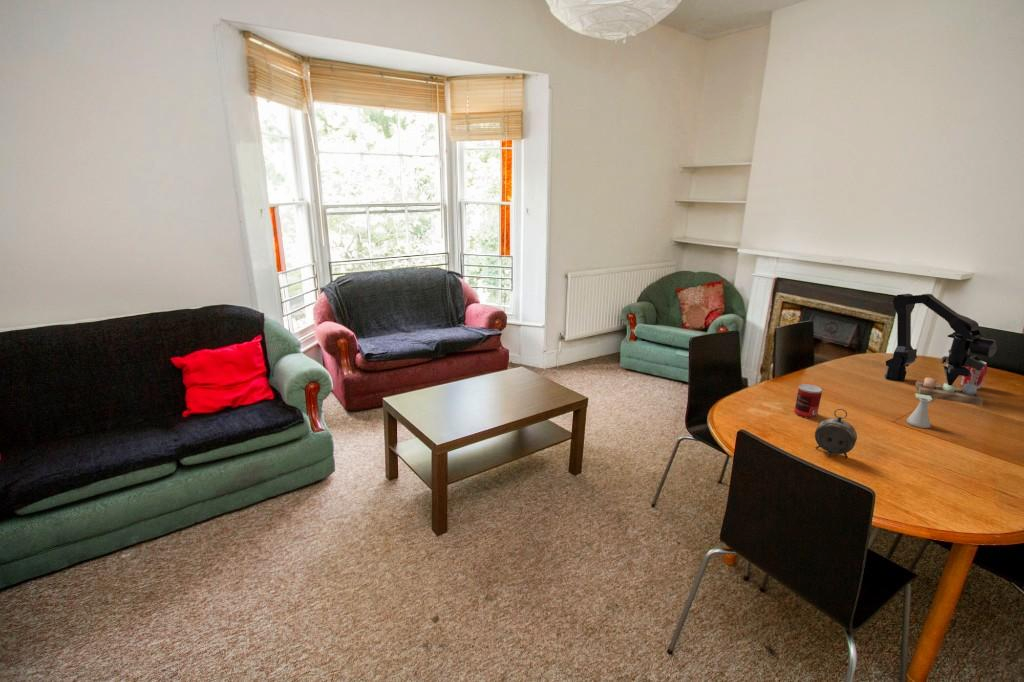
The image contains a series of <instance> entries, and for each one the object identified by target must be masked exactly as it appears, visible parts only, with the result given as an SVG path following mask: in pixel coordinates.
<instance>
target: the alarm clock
mask: <svg viewBox="0 0 1024 682" xmlns="http://www.w3.org/2000/svg"><path fill="white" fill-rule="evenodd" d="M837 411H843V412H845V416H844V417H841V416H837V415H836V413H837ZM834 416H835V418H833V417H832V418H826V419H824V420H822V421H820V422H819V423H818V425H817V427H816V430H815V432H814V439H815V441H816V443H817V446H816V447H815V449H816V450H817V449H818V448H821V449H822V450H823V451H825V452H827V453H828V457H829V458H831V457H832V455H844V456H845V458H846V459H848V458H849V456H848V454H847V453H849V452H851V451H852V450H853V449H854V447H855V445H856V444H857V443H856V442H857V440H858V436H857V431H856V429H855V428H854V426H853V425H851V424H850V423H849V422H848V421H846V420H844V419H846V418H847V416H848V412H847V411H846V410H845V409H844V408H837V409H835V411H834Z"/></svg>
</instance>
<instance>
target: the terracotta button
mask: <svg viewBox="0 0 1024 682" xmlns="http://www.w3.org/2000/svg"><path fill="white" fill-rule="evenodd" d="M937 381H938V380H937V379H936V378H932V377H924V380H923V382H924V383H923V387H924V388H930V389H935V386H936V384H937Z"/></svg>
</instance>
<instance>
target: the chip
mask: <svg viewBox="0 0 1024 682" xmlns="http://www.w3.org/2000/svg"><path fill="white" fill-rule="evenodd" d="M914 396H915V398H916V399H917V400H920V399H919V398H926V399H929V400H930V402H933V397H931V396H929V395H923V394H919V393H918V392H916V393H915V394H914Z"/></svg>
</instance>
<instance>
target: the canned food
mask: <svg viewBox="0 0 1024 682" xmlns="http://www.w3.org/2000/svg"><path fill="white" fill-rule="evenodd" d="M822 393H823V388H821V387H819V386H817V385H813V384H809V383H807V384H805V383H802V384H800V385H799V386H798V389H797V394H796V395H797V396H796V400H795V405H794V410H793V411H794V413H796V414H795V415H797V414H798V415H800V416H802V417H801V418H804V417H807V418H806V419H815V418H817V416H818V413H819V409H820V408H819V407H820V404H821V400H822V399H821V398H822ZM798 415H797V416H798ZM800 416H799V417H800Z"/></svg>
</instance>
